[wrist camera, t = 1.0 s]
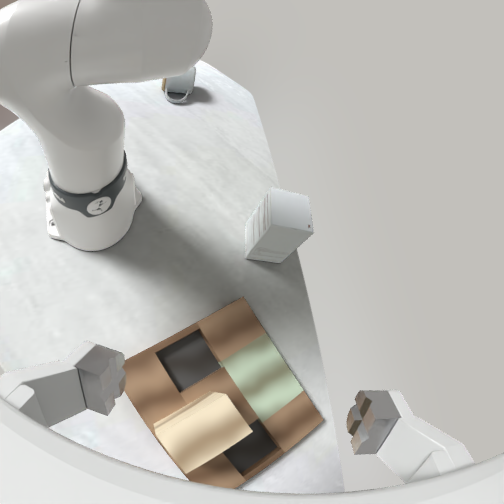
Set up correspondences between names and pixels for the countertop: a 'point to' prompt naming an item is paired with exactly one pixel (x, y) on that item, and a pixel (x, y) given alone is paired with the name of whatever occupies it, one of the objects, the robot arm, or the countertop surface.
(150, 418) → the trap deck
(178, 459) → the birch block
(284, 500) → the robot arm
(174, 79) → the ceramic mug
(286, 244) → the supplement box
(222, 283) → the countertop surface
